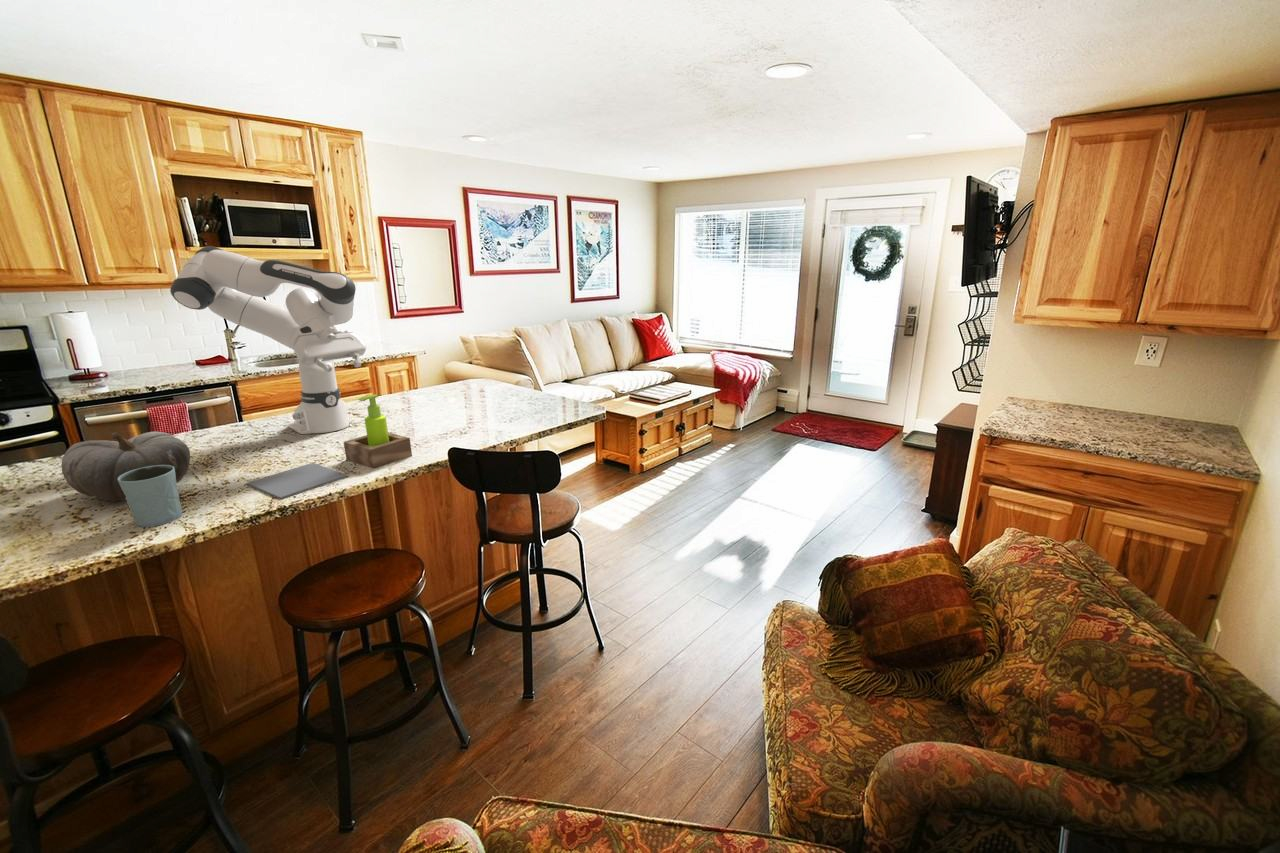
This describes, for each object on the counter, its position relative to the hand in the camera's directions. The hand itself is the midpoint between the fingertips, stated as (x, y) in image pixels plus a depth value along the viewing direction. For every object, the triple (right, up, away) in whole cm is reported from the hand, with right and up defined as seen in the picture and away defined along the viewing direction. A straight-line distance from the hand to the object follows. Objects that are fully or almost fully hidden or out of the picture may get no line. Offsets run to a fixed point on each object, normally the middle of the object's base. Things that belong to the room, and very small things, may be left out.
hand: (344, 368), depth 169 cm
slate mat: (-5, -33, -16) cm, 37 cm away
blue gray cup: (-24, -40, -38) cm, 60 cm away
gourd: (-44, -35, -21) cm, 60 cm away
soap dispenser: (+10, -28, +2) cm, 30 cm away
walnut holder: (+10, -28, +2) cm, 30 cm away
